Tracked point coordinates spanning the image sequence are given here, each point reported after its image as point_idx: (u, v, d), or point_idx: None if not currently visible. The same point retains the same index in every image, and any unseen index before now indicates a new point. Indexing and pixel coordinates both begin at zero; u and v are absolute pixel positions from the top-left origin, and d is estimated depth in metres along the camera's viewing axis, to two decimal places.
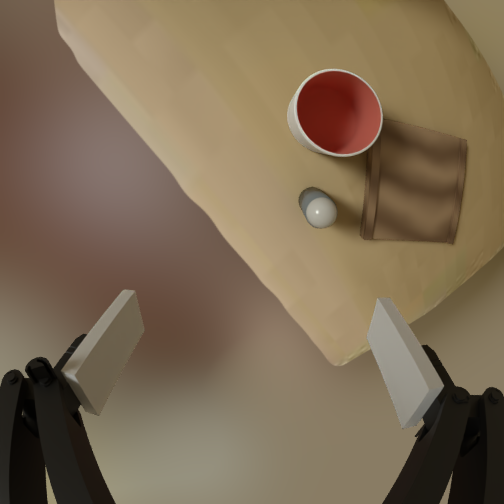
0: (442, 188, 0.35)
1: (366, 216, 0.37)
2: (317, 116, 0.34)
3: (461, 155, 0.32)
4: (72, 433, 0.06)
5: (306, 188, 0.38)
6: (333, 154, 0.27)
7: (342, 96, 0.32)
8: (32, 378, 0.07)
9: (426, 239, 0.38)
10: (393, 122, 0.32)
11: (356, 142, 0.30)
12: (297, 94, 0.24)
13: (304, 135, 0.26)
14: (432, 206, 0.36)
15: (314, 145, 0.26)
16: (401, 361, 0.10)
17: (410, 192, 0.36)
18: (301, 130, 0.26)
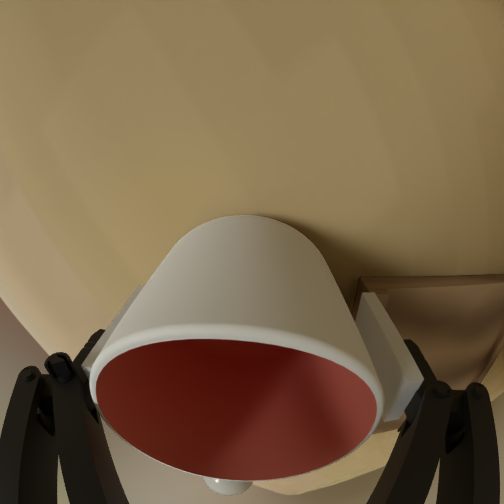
0: (467, 365, 0.18)
1: None
2: None
3: None
4: (90, 430, 0.06)
5: None
6: (222, 479, 0.09)
7: None
8: (51, 373, 0.07)
9: None
10: (415, 290, 0.15)
11: (308, 386, 0.13)
12: (92, 394, 0.07)
13: (147, 455, 0.09)
14: None
15: (175, 468, 0.09)
16: (383, 354, 0.10)
17: None
18: (137, 449, 0.08)
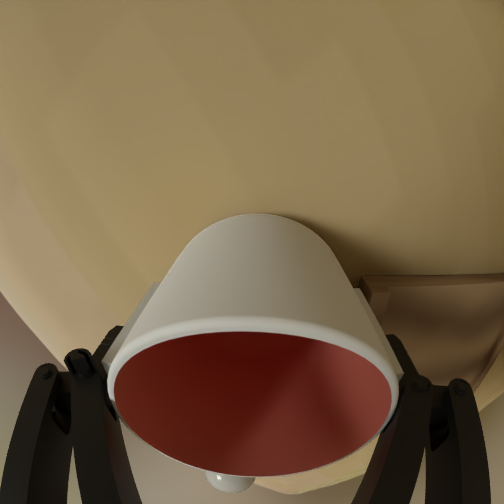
0: (468, 364, 0.18)
1: None
2: None
3: None
4: (107, 428, 0.06)
5: None
6: (234, 475, 0.09)
7: None
8: (70, 369, 0.08)
9: None
10: (415, 289, 0.15)
11: (319, 382, 0.13)
12: (110, 390, 0.07)
13: (160, 452, 0.09)
14: None
15: (188, 465, 0.09)
16: None
17: None
18: (150, 446, 0.09)
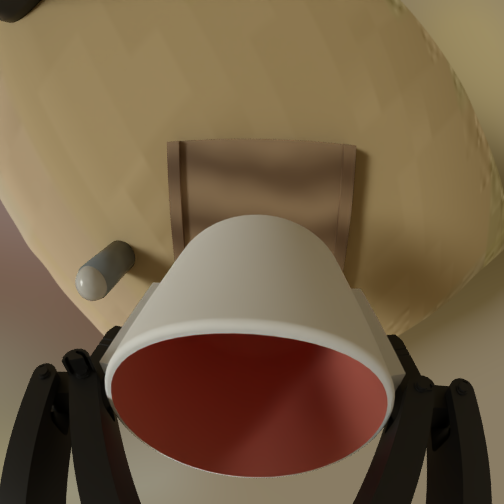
0: None
1: None
2: None
3: (343, 173, 0.24)
4: (106, 429, 0.06)
5: None
6: (231, 475, 0.10)
7: None
8: (68, 369, 0.08)
9: None
10: (203, 141, 0.24)
11: (317, 384, 0.13)
12: (107, 389, 0.07)
13: (158, 451, 0.09)
14: None
15: (185, 464, 0.09)
16: None
17: None
18: (148, 445, 0.09)
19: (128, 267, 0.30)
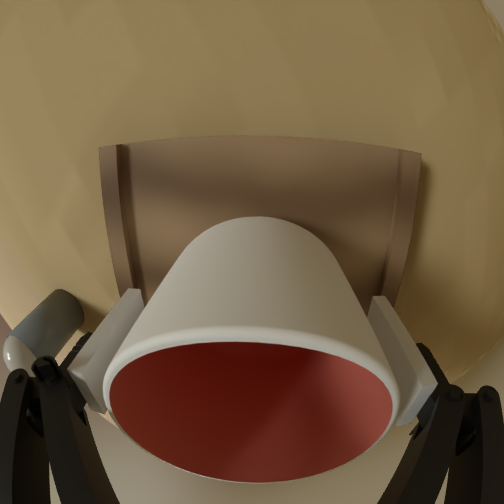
0: None
1: None
2: None
3: (400, 200, 0.13)
4: (77, 432, 0.06)
5: (53, 291, 0.19)
6: (232, 481, 0.09)
7: None
8: (38, 376, 0.07)
9: None
10: (156, 143, 0.13)
11: (319, 388, 0.13)
12: (105, 397, 0.07)
13: (157, 457, 0.09)
14: None
15: (185, 470, 0.09)
16: (395, 359, 0.10)
17: None
18: (147, 451, 0.08)
19: (74, 328, 0.19)
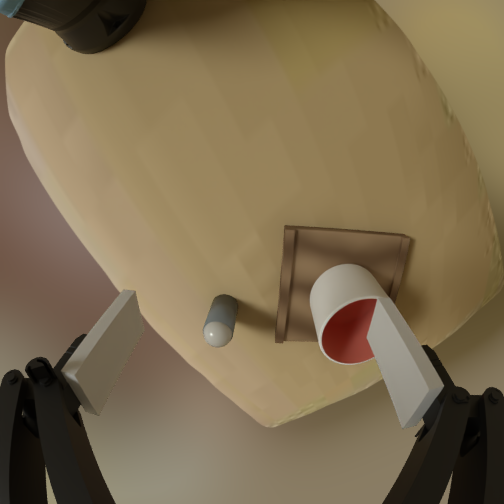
0: None
1: (277, 323, 0.40)
2: None
3: (400, 257, 0.35)
4: (72, 433, 0.06)
5: None
6: (345, 364, 0.30)
7: None
8: (32, 378, 0.07)
9: None
10: (311, 231, 0.35)
11: None
12: (325, 323, 0.28)
13: (324, 353, 0.30)
14: None
15: (331, 359, 0.30)
16: (401, 361, 0.10)
17: None
18: (322, 350, 0.30)
19: None
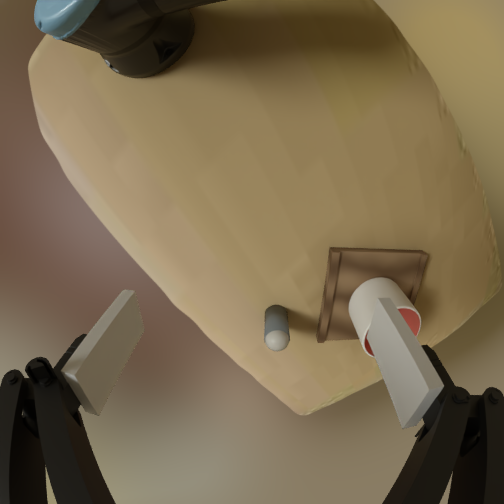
0: None
1: (320, 327, 0.47)
2: None
3: (419, 269, 0.41)
4: (72, 433, 0.06)
5: (271, 306, 0.47)
6: None
7: None
8: (32, 378, 0.07)
9: None
10: (352, 252, 0.41)
11: None
12: (368, 328, 0.35)
13: (365, 350, 0.37)
14: None
15: (369, 355, 0.37)
16: (401, 361, 0.10)
17: None
18: (364, 348, 0.36)
19: None
